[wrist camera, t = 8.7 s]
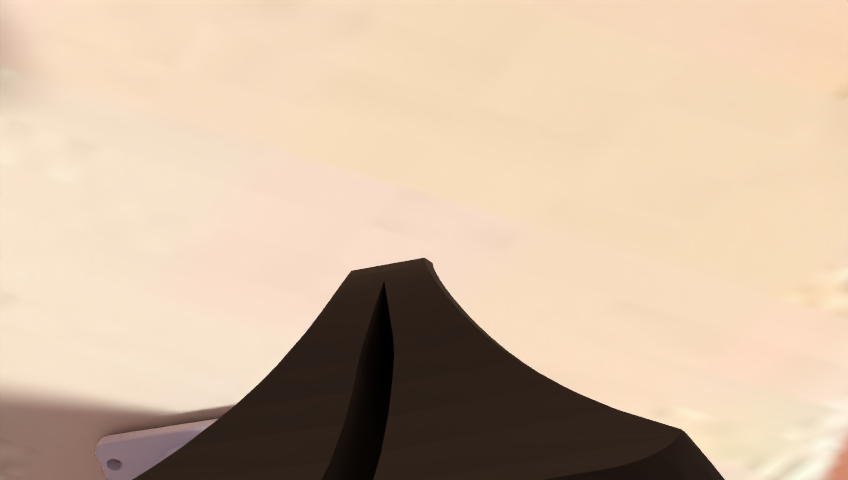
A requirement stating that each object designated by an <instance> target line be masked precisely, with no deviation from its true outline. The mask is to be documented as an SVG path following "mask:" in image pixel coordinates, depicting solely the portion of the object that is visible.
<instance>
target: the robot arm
mask: <svg viewBox="0 0 848 480" xmlns="http://www.w3.org/2000/svg"><path fill="white" fill-rule="evenodd" d="M95 455H96V457H97V459H98V461H99V464H100V466H101V468H102V470H103V472H104V474H105V476H106V478H107V480H724V478H723V477H722V476H721V474H720V473H719V472H718V471H717V469H716V468H715V467H714V466H713V464H712V463H711V462H710V461H709V460H708V458H707V457H706V456H705V455H704V454H703V453H702V451H701V450H700V449H699V448H698V447H697V445H696V444H695V443H694V442H693V441H692V440H691V438H690V437H689V436H688V435H687V434H686V433H685V432H684V431H683V430H681V429H678V428H675V427H672V426H669V425H665V424H662V423H659V422H656V421H652V420H649V419H646V418H643V417H639V416H636V415H633V414H629V413H626V412H623V411H620V410H617V409H614V408H612V407H609V406H607V405H604V404H602V403H600V402H597V401H595V400H592V399H590V398H588V397H585V396H583V395H580V394H578V393H576V392H574V391H572V390H570V389H568V388H566V387H564V386H562V385H560V384H558V383H557V382H555V381H553V380H551V379H549V378H547V377H546V376H544V375H542V374H540V373H538V372H537V371H535V370H534V369H532V368H531V367H529V366H527V365H526V364H524V363H523V362H522V361H520V360H519V359H518V358H516V357H515V356H513V355H512V354H511V353H509V352H508V351H507V350H505V349H504V348H503V347H502V346H501V345H499V344H498V343H497V342H496V341H495V340H494V339H492V338H491V337H490V336H489V335H488V334H487V333H486V332H485V331H484V330H483V329H482V328H480V327H479V326H478V325H477V324H476V323H475V322H474V321H473V320H472V319H471V318H470V317H469V316H468V314H467V313H466V312H465V311H464V310H463V309H462V308H461V306H460V305H459V304H458V303H457V302H456V301H455V300H454V298H453V297H452V296H451V295H450V293H449V292H448V291H447V289H446V288H445V287H444V285H443V284H442V282H441V281H440V279H439V277H438V276H437V274H436V272H435V270H434V268H433V263H432V262H430V261H429V260H427V259H426V258H421V259H415V260H409V261H404V262H398V263H393V264H387V265H381V266H376V267H370V268H365V269H359V270H353V271H351V272H350V273H349V275H348V276H347V277H346V279H345V280H344V281H343V283H342V284H341V285H340V287H339V288H338V290H337V291H336V292H335V294H334V295H333V297H332V298H331V299H330V301H329V302H328V304H327V305H326V306H325V308H324V309H323V311H322V312H321V313H320V315H319V316H318V317H317V318H316V320H315V321H314V322H313V324H312V325H311V326H310V328H309V329H308V330H307V332H306V333H305V334H304V335H303V336H302V337H301V339H300V340H299V341H298V342H297V343H296V344H295V345H294V347H293V348H292V349H291V350H290V351H289V352H288V353H287V355H286V356H285V357H284V358H283V359H282V360H281V362H280V363H279V364H278V365H277V366H276V367H275V368H274V369H273V370H272V371H271V372H270V373H269V374H268V375H267V376H266V377H265V378H264V379H263V380H262V381H261V382H260V383H259V384H258V385H257V386H256V387H255V388H254V389H253V390H252V391H251V392H249V393H248V394H247V395H246V396H245V397H244V398H243V399H242V400H241V401H240V402H238V403H237V404H236V405H235V406H234V407H233V408H232V409H230V410H229V411H228V412H227V413H226V414H224V415H223V416H222V417H220V418H219V419H212V420H206V421H199V422H193V423H186V424H179V425H173V426H166V427H160V428H153V429H147V430H140V431H134V432H127V433H121V434H114V435H108V436H105V437H102V438H101V439H100V440H99V442H98V444H97V445H96V448H95ZM112 459H117V460H119V461H120V462H116V461H113V460H112Z"/></svg>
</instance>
